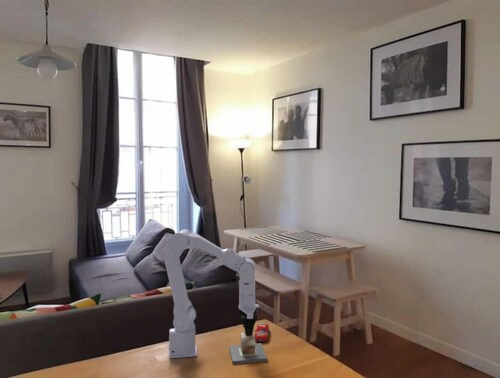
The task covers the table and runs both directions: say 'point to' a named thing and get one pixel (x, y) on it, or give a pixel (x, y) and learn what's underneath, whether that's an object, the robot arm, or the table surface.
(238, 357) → the base plate
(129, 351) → the table surface
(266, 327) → the race car
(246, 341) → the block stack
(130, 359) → the table surface
